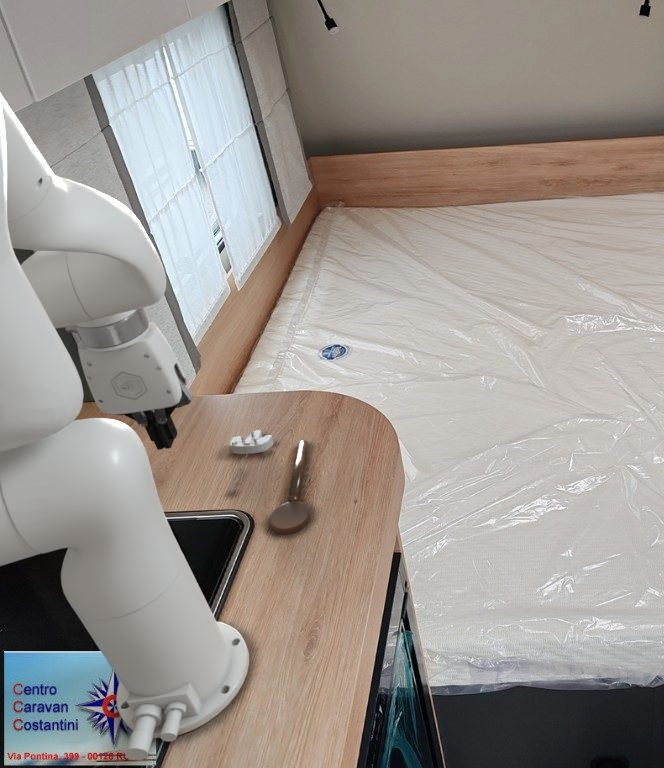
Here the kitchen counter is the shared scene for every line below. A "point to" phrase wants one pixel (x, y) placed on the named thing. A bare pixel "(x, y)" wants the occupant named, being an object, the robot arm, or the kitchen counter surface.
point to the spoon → (293, 499)
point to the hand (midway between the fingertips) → (167, 442)
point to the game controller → (251, 445)
